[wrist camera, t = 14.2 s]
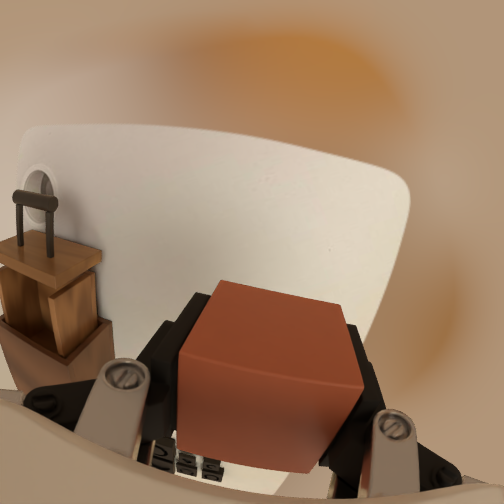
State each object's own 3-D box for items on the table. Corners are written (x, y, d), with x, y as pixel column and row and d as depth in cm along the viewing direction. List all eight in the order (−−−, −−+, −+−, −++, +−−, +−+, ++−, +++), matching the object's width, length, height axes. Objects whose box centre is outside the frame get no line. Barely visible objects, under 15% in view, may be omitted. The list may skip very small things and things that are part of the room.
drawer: (32, 181, 25) (-15, 191, 18) (104, 193, 24) (52, 206, 17) (42, 324, 31) (10, 350, 24) (107, 354, 30) (75, 391, 23)
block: (207, 370, 11) (175, 449, 7) (220, 278, 10) (177, 351, 6) (307, 390, 11) (308, 474, 7) (340, 303, 10) (366, 387, 6)
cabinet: (39, 290, 30) (-7, 320, 22) (112, 321, 30) (67, 366, 21) (55, 370, 35) (24, 403, 26) (120, 402, 34) (92, 445, 25)
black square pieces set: (127, 473, 44) (123, 484, 41) (103, 414, 35) (95, 430, 32) (216, 498, 44) (213, 511, 40) (228, 452, 34) (224, 470, 31)
